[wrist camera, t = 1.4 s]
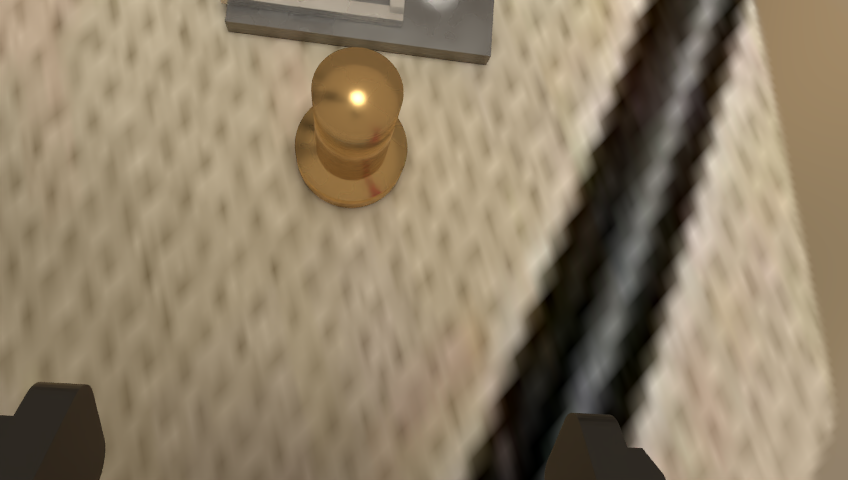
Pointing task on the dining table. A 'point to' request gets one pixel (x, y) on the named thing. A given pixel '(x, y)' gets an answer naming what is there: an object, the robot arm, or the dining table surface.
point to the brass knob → (353, 129)
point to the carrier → (374, 24)
